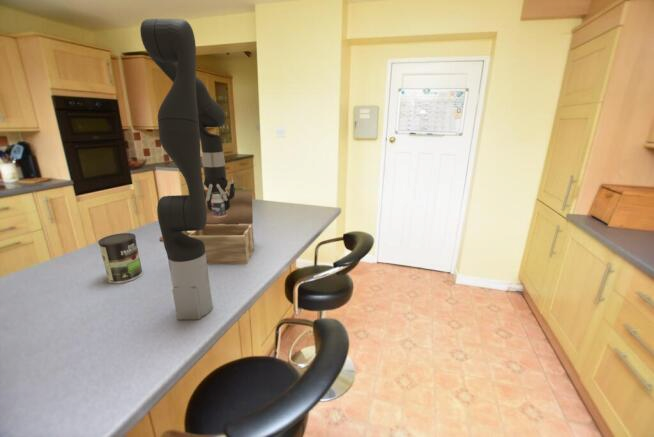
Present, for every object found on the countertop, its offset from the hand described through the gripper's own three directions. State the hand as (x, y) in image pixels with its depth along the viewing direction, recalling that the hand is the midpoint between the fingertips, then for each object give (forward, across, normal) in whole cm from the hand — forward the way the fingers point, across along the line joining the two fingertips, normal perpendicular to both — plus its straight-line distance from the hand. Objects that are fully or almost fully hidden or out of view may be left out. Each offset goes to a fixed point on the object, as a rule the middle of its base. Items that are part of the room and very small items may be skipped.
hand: (219, 209), depth 114 cm
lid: (+1, 0, -8) cm, 8 cm away
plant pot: (+19, +15, -73) cm, 77 cm away
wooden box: (+19, 0, 0) cm, 19 cm away
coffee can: (+20, +29, +16) cm, 38 cm away
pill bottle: (+3, 0, 0) cm, 3 cm away
